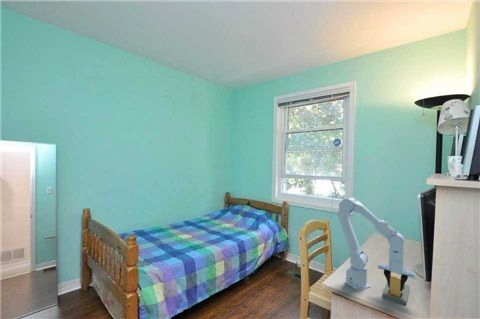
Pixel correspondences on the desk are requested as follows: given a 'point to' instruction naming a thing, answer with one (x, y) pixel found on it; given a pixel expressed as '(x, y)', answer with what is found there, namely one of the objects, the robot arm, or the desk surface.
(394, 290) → the plug
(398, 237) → the robot arm
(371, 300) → the desk surface
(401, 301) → the power strip
